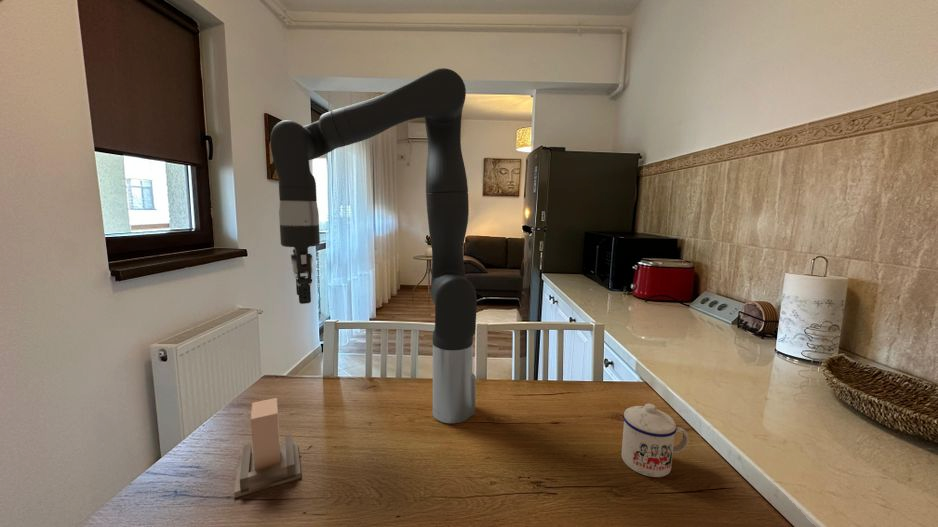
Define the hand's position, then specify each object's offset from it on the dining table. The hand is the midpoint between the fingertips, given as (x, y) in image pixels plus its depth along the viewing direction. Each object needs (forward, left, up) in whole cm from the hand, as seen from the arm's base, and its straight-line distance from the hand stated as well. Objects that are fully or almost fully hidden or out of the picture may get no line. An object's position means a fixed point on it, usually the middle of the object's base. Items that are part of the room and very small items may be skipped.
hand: (303, 298), depth 79 cm
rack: (+8, +14, -28) cm, 32 cm away
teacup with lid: (-57, +45, -28) cm, 78 cm away
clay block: (+8, +14, -27) cm, 32 cm away
